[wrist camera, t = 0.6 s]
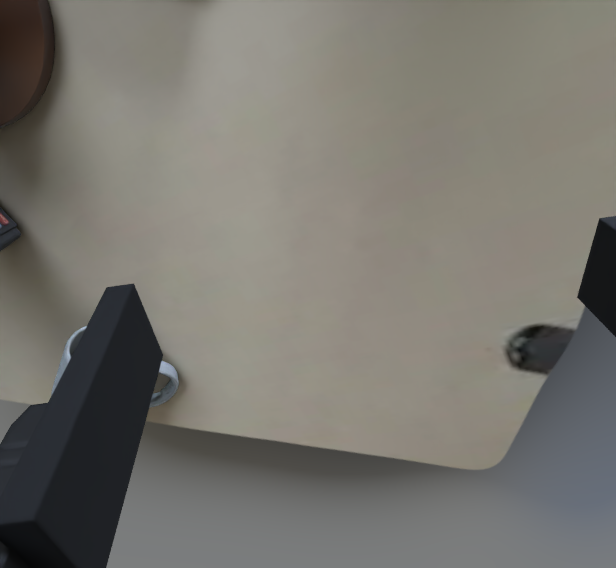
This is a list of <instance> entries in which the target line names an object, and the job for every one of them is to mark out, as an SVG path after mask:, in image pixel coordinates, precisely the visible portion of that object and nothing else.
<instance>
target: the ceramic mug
mask: <svg viewBox="0 0 616 568" xmlns="http://www.w3.org/2000/svg"><path fill="white" fill-rule="evenodd" d="M86 327H87V326H85V327H83V328H81V329H79V330H77V331H76V332H75V333H74V334H73V335H72V336H71V337H70V338H69V340H68V341H67V343H66V346H65V349H64V353H63V356H62V359H61V362H60V365H59V369H58V372H57V376H56V379H55V381H54V385H53V389H52V394H53V392H54V390H55V388H56V386H57V384H58V382H59V380H60V378H61V376H62V374H63V372H64V370H65V368H66V367H67V365H68V363H69V361H70V359H71V357H72V355H73V353H74V351H75V349H76V347H77V345H78V343H79V341H80V339H81V337H82V335H83V333H84V331H85V329H86ZM159 373H160V374H163V375H165V376H167V377H169V378H170V379H171V380H170V381H169V383H168V384H167V385H166V386H165V388H163V389H162V390H161V391H160V392H158V393H154V394H153V395H152V399H151V402H150V406H149V407H155V406H158V405H160V404H162V403H164V402H166V401H168V400H169V399H170V398H171V397H172V396H173V395H174V394H175V393H176V391H177V389H178V386H179V381H178V375H177V371H176V370H175V368H174V367H173V366H172V365H171V364H169V363H167V362H164V361H161V365H160V369H159ZM51 396H52V395H51Z"/></svg>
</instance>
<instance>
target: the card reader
mask: <svg viewBox="0 0 616 568" xmlns="http://www.w3.org/2000/svg"><path fill="white" fill-rule="evenodd" d="M16 227H17V224H16V223H15V222H14V221H13V220H12V219H11V218H10V217H9V216H8V215H7V214H6V213H5V212H4V211H3V210H2V209H1V208H0V251H1V250H3V249H4V248H6V247H7V246H9V245H10V244H11V243H12V242H14V241H15V240H16V239H18V238H19V237H20V236H21V233H20V231H19V230H18V229H17V228H16Z"/></svg>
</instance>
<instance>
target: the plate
mask: <svg viewBox="0 0 616 568" xmlns="http://www.w3.org/2000/svg"><path fill="white" fill-rule="evenodd" d="M54 51H55V44H54V29H53V22H52V16H51V12H50V8H49V4H48V0H0V128H1V127H4V126H7V125H9V124H12V123H14V122H15V121H17V120H19V119H21V118H22V117H23V116H25V115H26V114H27V113H28V112H29V111H31V110H32V108H33V107H34V106H35V105H36V104H37V103H38V101H39V100H40V98H41V96H42V95H43V93H44V91H45V89H46V87H47V84H48V82H49V79H50V76H51V72H52V68H53V62H54Z"/></svg>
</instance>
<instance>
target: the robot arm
mask: <svg viewBox="0 0 616 568" xmlns="http://www.w3.org/2000/svg"><path fill="white" fill-rule="evenodd" d="M577 298H578V299H579V300H580V301H581V302H582V303H583V304H584V305H585V306H586V307H587V308H588V309H589V310H590V311H591V312H592V313H593V314H594V315H595V316H596V317H597V318H598V319H599V320H600V321H601V322H602V323H603V324H604V325H605V326H606V327H607V328H608V330H610V332H611V333H612V334H613V335H615V337H616V216H613V217H606V218H599V222H598V225H597V229H596V233H595V236H594V240H593V243H592V247H591V250H590V254H589V257H588V261H587V264H586V268H585V272H584V275H583V279H582V282H581V286H580V289H579V293H578V296H577ZM162 358H163V354H162V351H161V349H160V346H159V344H158V341H157V339H156V336H155V334H154V332H153V329H152V327H151V324H150V322H149V319H148V317H147V315H146V312H145V310H144V307H143V305H142V302H141V300H140V298H139V295H138V293H137V290H136V288H135V285H134V284H128V285H121V286H114V287H107V288H106V290H105V292H104V294H103V296H102V298H101V300H100V302H99V304H98V306H97V307H96V309H95V311H94V313H93V315H92V317H91V319H90V321H89V323H88V325H87V327H86V329H85V331H84V333H83V335H82V337H81V339H80V341H79V343H78V345H77V347H76V349H75V351H74V353H73V355H72V357H71V359H70V361H69V363H68V365H67V367H66V368H65V370H64V372H63V374H62V376H61V378H60V380H59V382H58V384H57V386H56V388H55V390H54V392H53V394H52V396H51V398H50V400H49V402H48V403H43V404H36V405H30V406H29V407H28V408H27V410H26V411H25V412H24V413H23V414H22V415H21V416H20V417H19V418H18V419H17V420H16V421H15V422H14V423H13V424H12V425H11V427H10V428H9V430H8V432H7V433H6V435H5V437H4V439H3V440H2V442H1V444H0V568H106V566H107V562H108V558H109V555H110V551H111V547H112V543H113V540H114V536H115V532H116V528H117V525H118V521H119V518H120V514H121V510H122V506H123V503H124V499H125V495H126V491H127V488H128V484H129V480H130V477H131V473H132V469H133V465H134V462H135V458H136V454H137V451H138V447H139V443H140V439H141V436H142V432H143V428H144V425H145V421H146V417H147V413H148V410H149V406H150V402H151V399H152V395H153V391H154V387H155V384H156V380H157V376H158V373H159V369H160V365H161V361H162Z"/></svg>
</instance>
